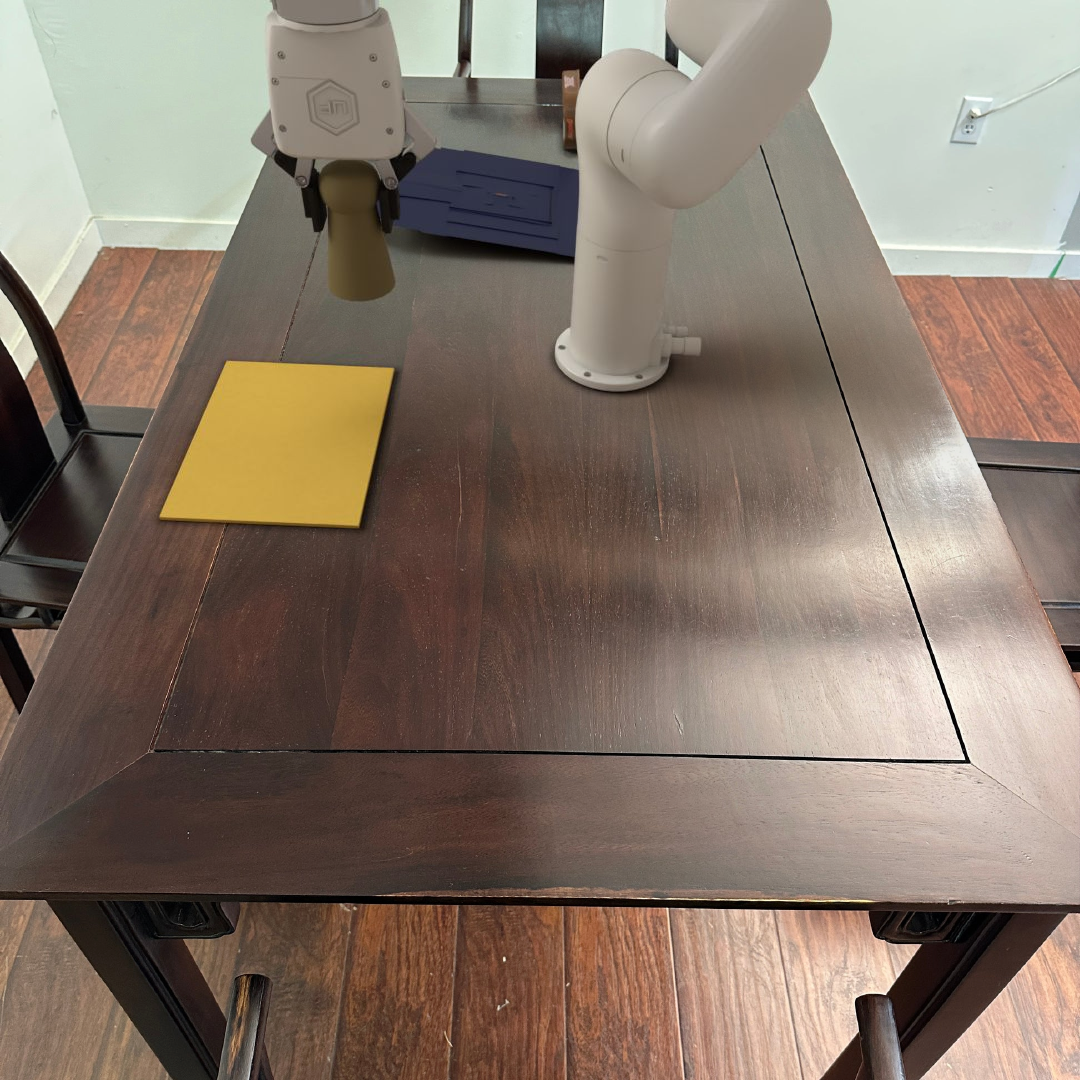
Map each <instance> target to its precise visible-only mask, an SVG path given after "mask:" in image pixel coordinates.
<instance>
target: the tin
mask: <svg viewBox="0 0 1080 1080" xmlns="http://www.w3.org/2000/svg"><path fill="white" fill-rule="evenodd" d="M580 79H581V78H580V69H575V70H573V69H571V70H563V71H562V73H561V96H562V99H561V100H562V141H563V142H562V143H563V144H562V145H563V149H564V150H577V142H576V129H575V112H576V102H577V97H578V93H579V90H580V87H581V84H580V83H581V80H580Z"/></svg>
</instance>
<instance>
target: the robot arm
mask: <svg viewBox="0 0 1080 1080" xmlns="http://www.w3.org/2000/svg"><path fill="white" fill-rule="evenodd" d="M269 2H270V3H271V4H272V10H271V11H270V12H269V13H268V15H267V16H266V17H265V29H264V30H265V31H264V33H265V36H264V38H265V41H264V42H265V64H266V65H265V66H266V76H267V78H266V79H267V87H268V96H269V106H270V107H269V108H268V110H267V112H266V113H265V115H264V116H263V117H262V119H261V120H260V122H259V123H258V125H257V126H256V127H255V129H254V131H253V134H252V135H251V138H250V143H251V145H252V146H253V147H254V148H256V149H257V150H259V151H260V152H261V153H262V154H263V155H265V156H267V157H268V158H270V159H272V160H273V161H274V163H275V164H276V165H277V166H278V167H279V168H280V169H282V170H283V171H284V172H285V173H287V174H288V176H290V177H291V178H292V179H293V181H294V183H295V185H296V186H297V187H299V188H300V191H301V192H300V193H301V199H302V204H303V211H304V217H305V218H306V219H311V222H312V229H313V233H322V232H323V231H324V228H325V225H326V222H327V220H328V207H327V205H326V204H325V203H324V202H323V200H322V198H321V195H320V192H319V188H318V177H319V175H320V171H318V169H317V168H316V167H315V166H316V160H363V161H373V162H374V164H375V168H376V170H377V172H378V174H379V177H380V180H381V183H380V186H379V190H378V195H379V205H380V215H381V219H380V220H381V224H382V232H384V235H391V234H392V231H393V227H394V226H393V225H394V220H400V198H399V186H398V183H399V182H400V181H401V180H402V179H403V178H404V177H405V176H406V175H407V174H408V173H409V172H410V171H411V170H412V169H413V168H414V167H415V165H416V164H417V163H418V162H419V161H421V160H422V159H423V158H425V157H426V156H427V155H428V154H429V153H431V152H432V151H433V150H434V149H435V148H436V145H437V136H436V134H434V133H433V131H432V130H431V129H430V128H429V126H428V125H427V124H426V123H425V121H423V120H422V119H421V118H420V116H419V115H418V114H417V113H416V112H415V110H413V109H412V108H411V106H410V105H409V104H408V103H407V102H406V96H405V90H404V82H403V76H402V68H401V63H400V56H399V51H398V47H397V42H396V37H395V33H394V29H393V25H392V22H391V19H390V14H389V12H388V10H387V9H385V8H384V7H381V6H380V0H269ZM832 18H833V17H832V11H831V8H830V5H829V2H828V0H667V1H666V5H665V9H664V25H665V29H666V32H667V35H668V37H669V38H670V40H671V42H672V43H673V45H674V46H675V47H676V48H677V49H678V50H679V51H680V52H681V53H682V54H684V55H685V56H686V57H687V58H689V59H690V60H691V61H692V62H693V63H695V64H696V65H697V66H699V67H700V70H699V71H698V73H697V74H696V75H695V76H694V78H693V79H691V78H690V77H689V76H688V75H687V74H686V73H684V72H682V71H681V70H679V69H678V68H677V67H675V66H674V65H672V64H671V63H670V62H669V61H667V60H665V59H664V58H662V57H660V56H658V55H656V54H655V53H653V52H651V51H647V50H645V49H640V48H634V47H633V48H632V47H627V48H619V49H615V50H613V51H611V52H608V53H607V54H605V55H603V56H602V57H601V58H599V59H598V60H597V61H596V62H594V64H593V65H592V66H591V67H590V68H589V70H588V71H587V73H586V74H585V76H584V78H583V80H582V82H581V84H580V90H579V93H578V97H577V102H576V112H575V129H576V142H577V149H576V150H577V163H578V170H579V208H578V224H577V235H576V251H575V257H574V265H573V266H574V267H573V269H574V270H573V284H572V299H571V315H570V326H569V327H568V328H566V329H565V330H564V331H563V332H562V333H560V335H559V336H558V337H557V339H556V341H555V346H554V359H555V362H556V365H557V366H558V368H559V369H560V370H561V372H562V373H563V374H564V375H565V376H567V377H568V378H569V379H571V380H572V381H574V382H576V383H578V384H580V385H582V386H585V387H588V388H589V389H590V388H591V389H595V390H598V391H605V392H606V391H607V392H628V391H635V390H639V389H643V388H646V387H649V386H650V385H653V384H654V383H656V382H657V381H659V380H660V379H661V378H662V377H663V376H664V375H665V374H666V371H667V369H668V367H669V363H670V357H671V355H682V356H698V357H699V356H700V355H701V351H702V338H701V337H695V336H694V337H693V336H692V337H691V336H689V334H688V333H689V327H688V326H681V325H680V326H677V325H676V326H667V323H663V319H662V317H663V316H662V311H663V304H664V297H665V292H666V291H665V290H666V283H667V275H668V268H669V261H670V255H671V249H672V248H671V247H672V240H673V235H674V229H675V222H676V214H677V210H679V211H680V210H687V209H691V208H694V207H697V206H699V205H701V204H703V203H705V202H707V201H708V200H710V199H711V198H712V197H713V196H715V195H716V194H717V193H718V192H720V191H721V190H722V189H723V188H724V187H725V186H726V185H727V184H728V183H729V182H730V181H731V180H732V179H733V177H734V176H735V175H736V174H737V173H738V172H739V171H740V170H741V169H742V168H743V166H744V165H745V164H746V163H747V162H748V161H749V159H751V157H752V156H753V155H754V153H755V152H756V151H757V150H758V149H759V148H760V147H761V145H762V144H763V143H764V142H765V141H766V139H768V137H770V135H771V134H772V132H774V130H775V129H776V128H777V127H778V126H779V124H781V122H782V121H783V120H784V119H785V117H786V116H787V115H788V114H789V113H790V112H791V111H792V109H793V108H794V107H795V106H796V105H797V103H798V102H799V101H800V100H801V99H802V97H803V96H804V95H805V94H806V92H807V91H808V90H809V89H810V87H811V85H812V84H813V82H814V81H815V79H816V78H817V76H818V74H819V72H820V70H821V68H822V66H823V64H824V61H825V59H826V56H827V54H828V50H829V47H830V43H831V39H832V31H833V19H832ZM406 134H407V135H408V136H409V138H411V139H412V140H413V141H412V142H411V144H410V145H408V146H406V147H405V148H404V150H403V151H402V148H403V147H404V145H405V136H406ZM401 151H402V152H401ZM397 155H398V156H397Z"/></svg>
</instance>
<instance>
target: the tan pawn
mask: <svg viewBox="0 0 1080 1080" xmlns="http://www.w3.org/2000/svg"><path fill="white" fill-rule="evenodd" d="M319 173H320V175H319V177H318V188H319V192H320V195H321V198H322V200H323V202H324V203H325V204H326V207H327V286H328V290H329V292H330V293H331V294H332V295H333V296H334V297H337V298H339V299H341V300H345V301H349V302H360V303H361V302H371V301H375V300H378V299H380V298H381V299H382V298H383V297H385V296H387V295H388V294H390V293H391V292H392V291H393V290H394V289H395V286H396V276H395V273H394V269H393V266H392V261H391V257H390V253H389V249H388V244H387V241H386V237H385V233H384V232H382V224H381V219H380V216H379V211H378V207H377V202H378V200H379V195H378V190H379V186H380V183H381V176H380V174H379V171H378V169H377V168H376V167H375V166H374V165H373V164H371V163H370V162H369V161H367V160H337V159H334V160H331V162H328V163H327V164H325V165H324V166H323V167H322V169H321V170H320V171H319Z"/></svg>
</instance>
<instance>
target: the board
mask: <svg viewBox="0 0 1080 1080" xmlns="http://www.w3.org/2000/svg"><path fill="white" fill-rule="evenodd" d="M394 375H395V368H394V367H381V366H380V367H379V366H358V365H357V366H356V365H337V364H336V365H335V364H334V365H333V364H313V363H312V364H311V363H309V364H308V363H287V362H267V361H265V362H263V361H245V360H243V361H242V360H241V361H240V360H226V362H225V364H224V366H223V369H222V370H221V373H220V376H219V378H218V380H217V382H216V384H215V387H214V389H213V392H212V394H211V397H210V399H209V401H208V403H207V405H206V408H205V410H204V412H203V415H202V417H201V419H200V422H199V424H198V425H197V426H198V427H197V429H196V431H195V433H194V436H193V438H192V440H191V442H190V445H189V447H188V449H187V452H186V454H185V455H184V459H183V460H182V463H181V466H180V468H179V470H178V472H177V475H176V477H175V479H174V481H173V484H172V486H171V489H170V490H169V493H168V495H167V498H166V500H165V502H164V504H163V507H162V509H161V511H160V514H159V516H158V518H159V521H176V522H195V523H196V522H197V523H198V522H199V523H219V524H220V523H223V524H224V523H225V524H243V525H268V526H289V527H290V526H292V527H312V528H313V527H315V528H316V527H317V528H336V529H337V528H338V529H360V526H361V522H362V516H363V512H364V508H365V505H366V499H367V494H368V492H369V491H368V490H369V487H370V480H371V477H372V472H373V468H374V463H375V459H376V456H377V455H376V454H377V451H378V446H379V441H380V437H381V432H382V427H383V424H384V420H385V415H386V410H387V406H388V402H389V396H390V392H391V388H392V383H393V379H394Z"/></svg>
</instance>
